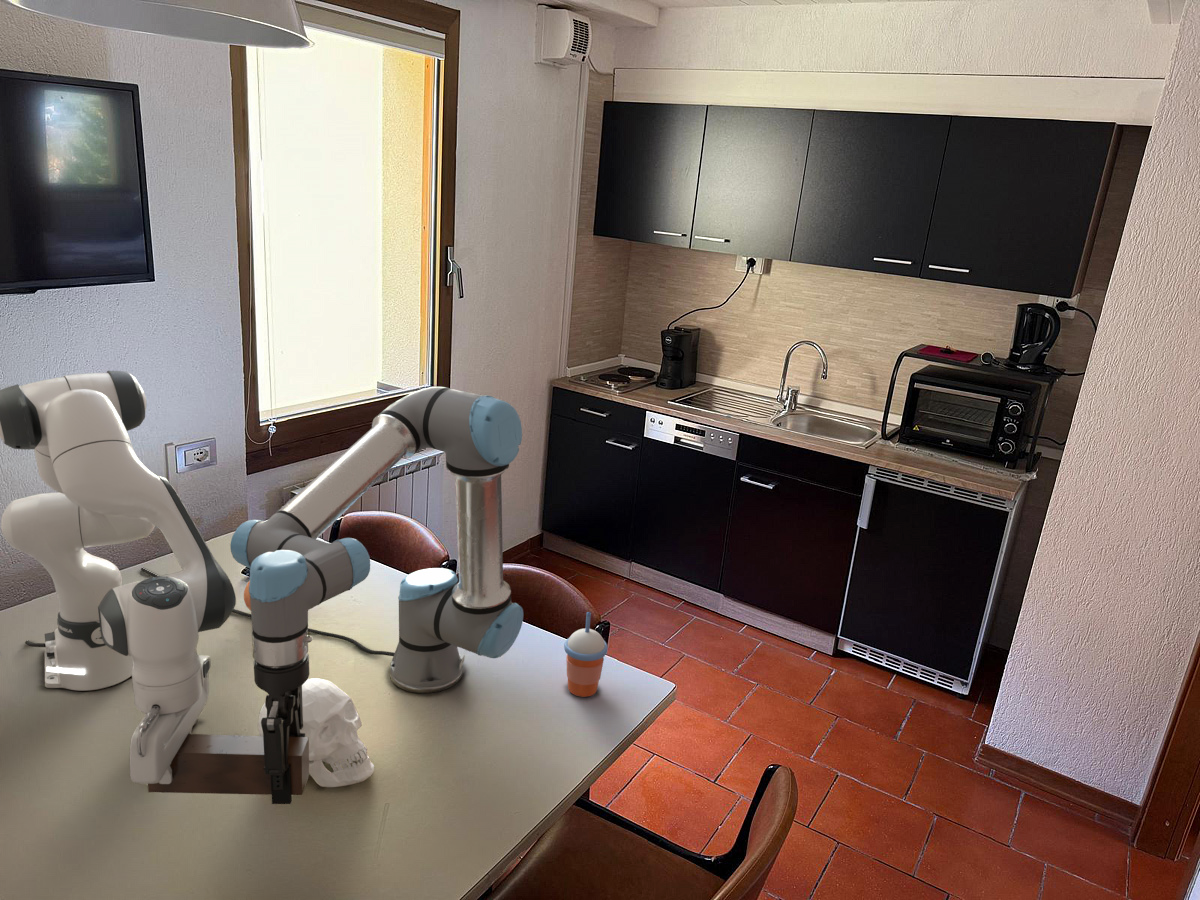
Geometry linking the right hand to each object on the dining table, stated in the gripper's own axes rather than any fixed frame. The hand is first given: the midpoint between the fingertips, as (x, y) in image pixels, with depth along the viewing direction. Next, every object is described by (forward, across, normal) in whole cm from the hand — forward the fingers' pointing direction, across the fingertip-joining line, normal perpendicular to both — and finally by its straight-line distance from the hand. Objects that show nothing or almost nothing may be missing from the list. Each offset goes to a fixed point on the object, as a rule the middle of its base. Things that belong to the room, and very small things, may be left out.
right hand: (286, 790), depth 130 cm
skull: (+11, +20, 0) cm, 22 cm away
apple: (+11, +73, +24) cm, 78 cm away
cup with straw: (+11, +45, -49) cm, 67 cm away
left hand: (-4, 0, +16) cm, 17 cm away
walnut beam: (-1, 0, +8) cm, 8 cm away
